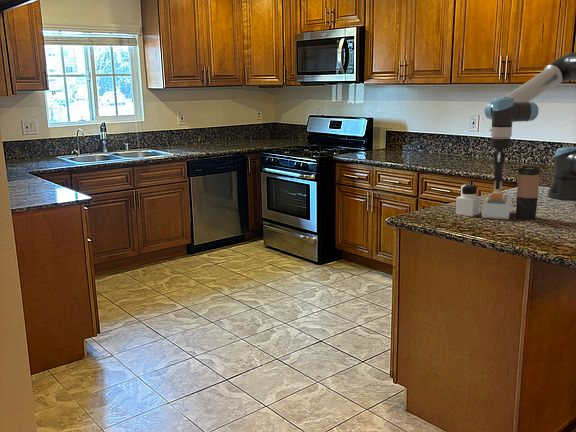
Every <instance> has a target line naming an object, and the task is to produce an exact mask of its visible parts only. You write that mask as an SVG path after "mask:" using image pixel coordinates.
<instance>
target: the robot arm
mask: <svg viewBox="0 0 576 432" xmlns="http://www.w3.org/2000/svg"><path fill="white" fill-rule="evenodd" d="M568 81H576V51H574V52H569V53H566V54H565V55H563V56H561V57H559V58H557V59H556V60H554V61H552V62H551V63H549V64H547V65H545V67H544V68H543V70H542V71H541V72H539V73H538V74H536V75H535V76H533V77H532V78H530V79H529V80H528V81H526V82H524V83H523V84H521V85H520V86H519V87H517V88H516V89H514V90H513V91H511V92H510V93H508V94H506V95H505V96H503V97H495V98H494V99H493V101H490V102H488V103H486V105H485V107H484V115H485V117H486V118H487V119H489V120H491V128H490V129H489V132H491V135H490V137H492V138H490V145H489V147H490V148H492V149H496V151H494V155H493V156H494V164H495V165H494V166H495V167H494V178H493V179H492V181H493V183H494V185H493V191H494V192H502V185H503V181H504V179H505V178H503V171H504V170H503V169H504V163H505V157H506V152H505V151H504V149H510V148H511V145H512V139H511V137H512V133H513V122H517V123H518V122H531V121H532V122H533V121H534V120H535V119H537V117H538V115H539V107H538V105H537V103H535V102H534V101H533V102H532V100H534V99H535V98H537V97H538V96H540V95H541V94H543V93H545V92H546V91H548V90H549V89H550V88H552V87H554V86H560V85H561V84H562V83H564V82H568ZM547 197H548V198H551V199H555V200H563V201H576V146H570V147H569V146H568V147H558V148H556V150H555V155H554V162H553V177H552V182H551V183H550V186H549V189H548V190H547Z"/></svg>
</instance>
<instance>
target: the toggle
mask: <svg viewBox="0 0 576 432" xmlns="http://www.w3.org/2000/svg"><path fill="white" fill-rule="evenodd" d="M491 195H492V199H491V200H502V201H503V197H504V192H502V191H501V192H494V190H493V191H492V192H491Z"/></svg>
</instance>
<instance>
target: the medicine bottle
mask: <svg viewBox="0 0 576 432" xmlns="http://www.w3.org/2000/svg"><path fill="white" fill-rule="evenodd" d="M477 187H478V186H477V185H474V184H463V185H461V187H460V196H457V197H456V202H455V205H456V207H455V214H456V215H458V216H464V217H465V216H466V217H474V216H477V215H480V210H481V207H480V206H481V196H478V195H477V193H478V192H477Z"/></svg>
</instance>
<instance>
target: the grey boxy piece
mask: <svg viewBox="0 0 576 432" xmlns="http://www.w3.org/2000/svg"><path fill="white" fill-rule="evenodd" d="M507 196H508V195H503V201H502V200H491V199H492V194H490V195H489V196H485V197H484V199H483V202H482V206H481V207H482V211H481V212H482V213H481V218H483V219H495V220H497V219H498V220H509V219H510V215H511V212H512V211H511V210H512V208H511V207H512V197H507Z"/></svg>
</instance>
